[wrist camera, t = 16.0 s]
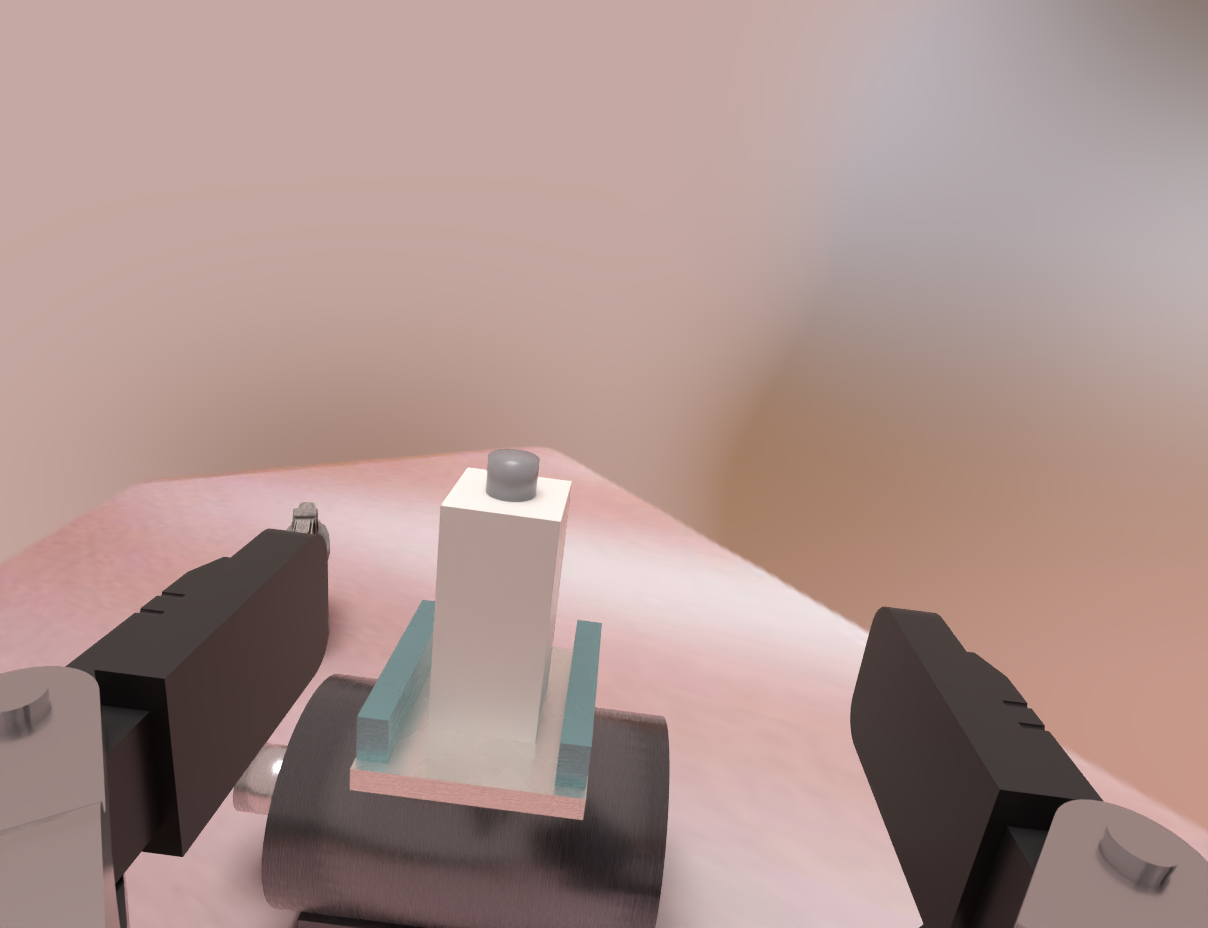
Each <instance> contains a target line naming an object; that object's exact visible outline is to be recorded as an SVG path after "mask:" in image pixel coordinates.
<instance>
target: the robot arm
mask: <svg viewBox="0 0 1208 928" xmlns="http://www.w3.org/2000/svg"><path fill="white" fill-rule="evenodd" d="M328 630H329V623H328V557H327V545H326V542H325V540H324V538H323V537H322V536H321V535H317V534H309V533H301V532H293V531H285V530H277V529H266V530H264V531H263V532H261V533H260V534H259V535H258V536H257V537H255V538H254V539H253V540H252V541H251V542H249V543H248V544H247V545H246V546H244V547H243V548H242V549H241V550H240V551H238V552H237V553H236V554H235V555H233V556H232V557H231V558H229V557H222V558H220V559H218V560H215V561H213V562H210V563H208V564H206V565H203V566H201V567H198V568H196V569H194V570H191V571H189V572H187V573H186V574H184V575H183V576H182V577H181V578H179V579H178V580H177V581H175V582H174V583H173V584H172V585H170V586H169V587H168V588H166V589H165V590H164V591H163V592H162V595H161V596H156V597H155V598H153V599H152V600H151V601H150V602H148V603H147V604H146V605H144V606H143V607H142V608H141V611H140V613H134V614H133V615H132V616H130V617H129V618H128V619H126V620H125V621H124V622H122V623H121V624H120V625H119V626H117V627H116V628H115V629H113V630H112V631H111V632H110V633H108V634H107V635H106V636H104V637H103V638H102V639H101V640H99V641H98V642H97V643H95V644H94V645H93V646H92V647H90V648H89V649H88V650H86V651H85V652H84V653H82V654H81V655H80V656H79V657H77V658H76V659H75V660H73V661H72V662H71V663H70V664H68V665H67V666H66V667H60V666H43V667H32V668H26V669H20V670H15V671H11V672H6V673H2V674H0V928H130V926H129V913H128V900H127V888H126V881H125V874H124V873H125V871H126V870H127V869H128V868H129V866H130V865H131V864H132V863H133V861H134V860H135V859H136V858H137V856H138V855H139V854H140V853H141V851H142V852H149V853H156V854H164V855H171V856H179V857H183V856H184V855H185V853H186V852H187V851H188V849H189V848H190V847H191V845H192V844H193V842H194V841H195V840H196V838H197V837H198V835H199V834H200V833H201V831H202V830H203V829H204V827H205V826H206V824H207V823H208V822H209V820H210V819H211V818H212V816H213V815H214V813H215V812H216V811H217V809H218V808H219V807H220V805H221V804H222V802H223V801H224V800H225V798H226V797H227V796H228V794H229V793H230V791H231V790H232V789H233V787H234V786H235V784H236V783H237V782H238V780H239V779H240V778H241V776H242V775H243V773H244V772H245V771H246V769H247V768H248V767H249V765H250V764H251V762H252V761H253V760H254V758H255V757H256V756H257V754H258V753H259V751H260V750H261V749H262V747H263V746H264V744H265V743H266V742H267V740H268V739H269V738H270V736H271V735H272V733H273V732H274V731H275V729H276V728H277V727H278V725H279V724H280V722H281V721H282V720H283V718H284V717H285V716H286V714H287V713H288V711H289V710H290V709H291V707H292V706H293V705H294V703H295V702H296V700H297V699H298V698H299V696H300V695H301V693H302V692H303V691H304V689H305V688H306V687H307V685H308V684H309V682H310V681H311V680H312V678H313V677H314V676H315V674H316V673H317V671H318V669H319V667H320V665H321V662H322V660H323V657H324V654H325V650H326V646H327V640H328ZM850 723H851V734H852V739H853V743H854V746H855V749H856V751H857V754H858V756H859V759H860V761H861V764H862V767H863V769H864V772H865V774H866V777H867V779H868V782H869V785H870V787H871V790H872V792H873V795H874V797H875V800H876V803H877V805H878V808H879V810H880V813H881V815H882V818H883V821H884V823H885V826H886V828H887V831H888V833H889V836H890V839H891V841H892V844H893V846H894V849H895V851H896V854H897V857H898V859H899V862H900V864H901V867H902V870H903V872H904V875H905V877H906V880H907V882H908V885H909V888H910V890H911V893H912V895H913V898H914V900H915V903H916V906H917V908H918V911H919V913H920V916H921V918H922V921H923V924H924V926H925V928H1208V862H1207V861H1206V860H1205V859H1204V858H1203V857H1202V856H1201V855H1200V854H1199V853H1198V852H1197V851H1196V850H1195V849H1194V848H1192V847H1191V846H1190V845H1189V844H1188V843H1186V842H1185V841H1184V840H1183V839H1181V838H1180V837H1178V836H1177V835H1176V834H1174V833H1173V832H1171V831H1170V830H1168V829H1166V828H1165V827H1163V826H1162V825H1160V824H1158V823H1157V822H1155V821H1153V820H1151V819H1149V818H1147V817H1145V816H1143V815H1141V814H1139V813H1136V812H1134V811H1132V810H1129V809H1126V808H1124V807H1121V806H1118V805H1115V804H1111V803H1107V802H1104V801H1103V800H1102V799H1101V797H1100V796H1099V795H1098V794H1097V792H1096V791H1095V790H1094V788H1093V787H1092V786H1091V785H1090V783H1089V782H1088V781H1087V779H1086V778H1085V777H1084V776H1083V774H1082V773H1081V772H1080V770H1079V769H1078V768H1077V767H1076V765H1075V764H1074V763H1073V761H1072V760H1071V759H1070V758H1069V756H1068V755H1067V754H1066V752H1065V751H1064V750H1063V749H1062V747H1061V746H1060V745H1059V743H1058V742H1057V741H1056V740H1055V738H1054V737H1053V736H1052V734H1051V733H1050V732H1048V731H1045V729H1044V727H1045V725H1044V724H1043V723H1042V721H1041V720H1040V719H1039V718H1038V716H1037V715H1036V714H1035V713H1034V711H1033V710H1032V709H1029V708H1027V702H1026V701H1025V700H1024V698H1023V697H1022V696H1021V694H1020V693H1019V692H1018V691H1017V689H1016V688H1015V687H1014V686H1013V684H1012V683H1011V682H1010V680H1009V679H1008V678H1007V677H1006V676H1005V675H1003V674H1002V673H1001V672H1000V671H998V670H997V669H995V668H994V667H993V666H992V665H990V664H989V663H988V662H986V661H985V660H984V659H982V658H981V657H979V656H978V655H977V654H975V653H972V652H966V650H965V649H964V648H963V646H962V645H961V643H960V642H959V641H958V640H957V638H956V637H955V635H954V634H953V633H952V631H951V630H950V628H949V627H948V626H947V624H946V623H945V622H944V620H943V619H942V618H941V616H939V615H938V614H936V613H931V612H923V611H915V610H906V609H898V608H891V607H881V608H880V609H879V610H878V611H877V612H876V614H875V616H874V619H873V622H872V625H871V629H870V633H869V636H868V640H867V644H866V648H865V652H864V655H863V659H862V663H861V667H860V671H859V675H858V678H857V682H856V686H855V690H854V694H853V698H852V703H851V714H850Z"/></svg>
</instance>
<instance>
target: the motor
mask: <svg viewBox="0 0 1208 928" xmlns="http://www.w3.org/2000/svg"><path fill="white" fill-rule="evenodd" d="M434 612H435V601H427V600H422V602H421V604H420V605H419V607H418V609H417V611H416V613H415V614H414V616H413V618H412V620H411V621H410V623H409V625H408V627H407V629H406V630H405V632H404V634H403V636H402V637H401V639H400V641H399V643H398V645H397V646H396V648H395V650H394V652H393V653H392V655H391V657H390V659H389V661H388V662H387V664H386V666H385V668H384V669H383V671H382V673H381V675H380V677H379V678H378V679H373V678H365V677H357V676H350V675H342V674H334V675H332V676H330V677H329V678H327V679H326V680H325V681H324V682H323V683H322V684H321V685H320V686H319V687H318V689H317V690H316V691H315V693H314V694H313V695H312V697H311V699H310V700H309V702H308V703H307V705H306V707H305V709H304V711H303V713H302V714H301V716H300V719H299V721H298V723H297V725H296V727H295V729H294V732H293V734H292V737H291V739H290V741H289V744H288V746H286V745H278V744H270V743H265V744H264V746H263V747H262V749H261V750H260V751H259V753H258V754H257V756H256V757H255V758H254V760H253V761H252V762H251V764H250V765H249V767H248V768H247V769H246V771H245V772H244V773H243V775H242V776H241V778H240V779H239V780H238V782H237V783H236V784H235V786H234V791H233V804H234V807H235V809H236V810H237V811H241V812H248V813H256V814H264V815H268V818H267V823H266V829H265V836H264V843H263V854H262V883H263V890H264V895H265V897H266V900H267V902H268V903H269V905H270V906H271V907H273V908H276V909H284V910H292V911H299V912H302V913H301V915H300V917H299V919H298V928H655V925H656V919H657V914H658V907H659V901H660V894H661V886H662V878H663V868H664V859H665V848H666V835H667V821H668V802H669V739H668V729H667V723H666V720H665V718H664V717H663V716H657V715H650V714H642V713H634V712H627V711H619V710H611V709H604V708H596V707H595V700H596V687H597V675H598V663H599V651H600V638H601V626H602V623H596V622H588V621H581V620H578V621H577V628H576V635H575V642H574V649H566V648H559V647H552V654H551V663H550V671H549V680H548V684H547V689H546V694H545V699H544V704H543V709H542V714H541V719H540V723H539V728H538V733H537V738H536V743H529V742H522V741H514V740H507V739H500V738H493V737H485V736H478V735H471V734H463V733H456V732H449V731H441V730H434V729H428V716H429V699H430V681H431V664H432V647H433V629H434Z"/></svg>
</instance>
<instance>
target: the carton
mask: <svg viewBox="0 0 1208 928" xmlns="http://www.w3.org/2000/svg"><path fill="white" fill-rule="evenodd" d="M538 469H539V457H538V456H537V455H535V454H533V453H530V452H527V451H522V450H516V449H500V450H495V451H492V452H490V453H489V455H488V468H487V470H483V469H476V468H467V470H466V471H465V472H464V474H463V475H462V476H461V478H460V479H459V481H458V482H457V483H456V485H455V486H454V488H453V489H452V490H451V492H450V493H449V495H448V496H447V497H446V499H445V500H444V502H443V503H442V504H441V508H440V526H439V543H438V560H437V578H436V595H435V612H434V629H433V647H432V664H431V681H430V699H429V716H428V729H434V730H441V731H449V732H456V733H463V734H471V735H478V736H485V737H493V738H500V739H507V740H514V741H522V742H529V743H536V738H537V733H538V728H539V723H540V719H541V714H542V709H543V704H544V699H545V694H546V689H547V684H548V680H549V671H550V663H551V654H552V646H553V637H554V629H555V620H556V612H557V603H558V595H559V586H560V577H561V569H562V560H563V552H564V543H565V535H566V526H567V518H568V509H569V501H570V492H571V484H572V481H565V480H558V479H550V478H543V477H538Z"/></svg>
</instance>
